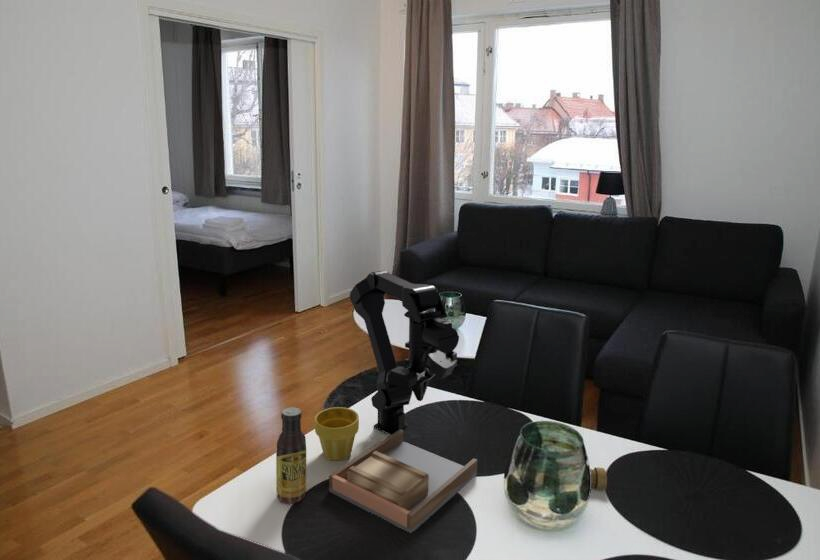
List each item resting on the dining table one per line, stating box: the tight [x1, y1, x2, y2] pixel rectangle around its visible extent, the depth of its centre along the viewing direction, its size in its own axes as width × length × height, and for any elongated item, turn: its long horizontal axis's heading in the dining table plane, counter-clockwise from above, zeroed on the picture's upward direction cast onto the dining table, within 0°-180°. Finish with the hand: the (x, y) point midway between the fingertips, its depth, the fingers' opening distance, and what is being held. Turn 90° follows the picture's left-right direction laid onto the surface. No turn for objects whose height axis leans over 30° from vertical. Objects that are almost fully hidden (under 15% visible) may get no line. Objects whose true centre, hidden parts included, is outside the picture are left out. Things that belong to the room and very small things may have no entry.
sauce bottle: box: [275, 406, 307, 505], centre depth 123 cm, size 7×6×20 cm
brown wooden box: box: [347, 451, 429, 510], centre depth 125 cm, size 14×10×5 cm
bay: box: [328, 429, 478, 534], centre depth 131 cm, size 22×25×4 cm
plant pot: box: [313, 406, 360, 462], centre depth 141 cm, size 10×10×10 cm
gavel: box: [590, 467, 608, 491], centre depth 139 cm, size 21×5×10 cm
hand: (419, 400), depth 142 cm, fingers closed
